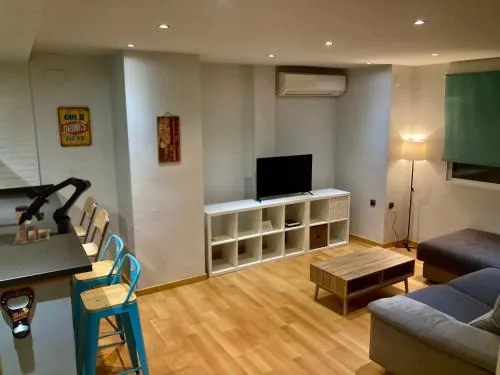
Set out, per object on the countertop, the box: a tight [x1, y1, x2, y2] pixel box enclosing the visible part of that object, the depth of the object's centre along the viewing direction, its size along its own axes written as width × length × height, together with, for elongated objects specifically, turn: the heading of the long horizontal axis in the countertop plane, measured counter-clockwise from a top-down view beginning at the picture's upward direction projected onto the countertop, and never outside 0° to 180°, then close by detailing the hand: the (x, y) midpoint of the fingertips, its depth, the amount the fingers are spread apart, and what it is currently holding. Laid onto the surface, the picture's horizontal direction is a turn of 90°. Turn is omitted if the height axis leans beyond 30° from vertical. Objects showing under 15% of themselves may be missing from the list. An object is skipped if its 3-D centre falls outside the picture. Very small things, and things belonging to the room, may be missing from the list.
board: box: [13, 228, 51, 246], centre depth 253 cm, size 18×25×1 cm
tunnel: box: [25, 224, 39, 241], centre depth 246 cm, size 6×8×7 cm
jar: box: [14, 205, 32, 226], centre depth 286 cm, size 9×8×12 cm
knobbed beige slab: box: [17, 217, 30, 241], centre depth 251 cm, size 6×20×10 cm, turn 24°
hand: (19, 224), depth 257 cm, fingers open, 3 cm apart
